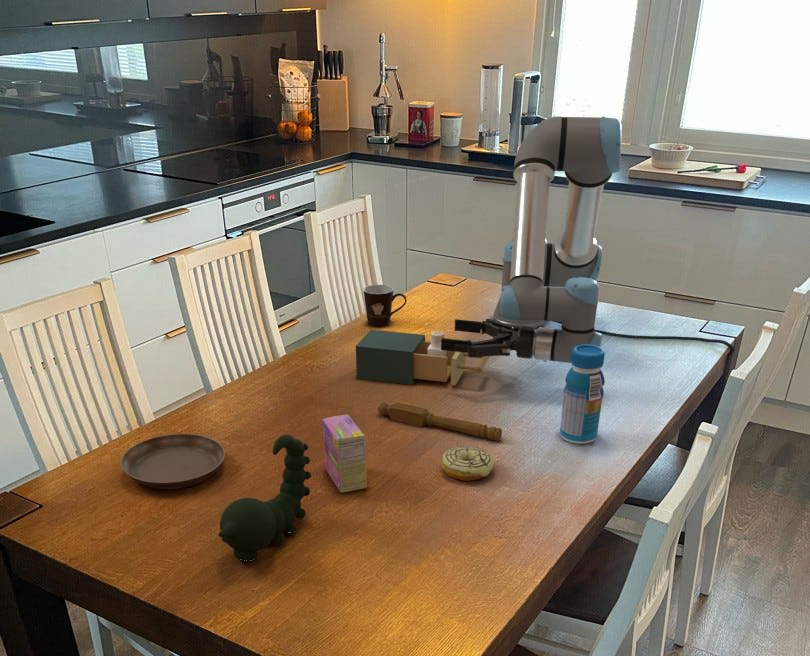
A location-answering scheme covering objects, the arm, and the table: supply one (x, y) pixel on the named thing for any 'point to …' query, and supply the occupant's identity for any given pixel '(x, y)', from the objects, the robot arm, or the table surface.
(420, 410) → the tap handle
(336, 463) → the box
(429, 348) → the pepper shaker
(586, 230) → the robot arm
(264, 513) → the toy figurine
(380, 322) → the coffee mug
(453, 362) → the drawer
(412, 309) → the table surface
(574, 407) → the beverage bottle
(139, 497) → the table surface
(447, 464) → the decorated donut
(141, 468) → the plant saucer
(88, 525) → the table surface
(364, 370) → the cabinet
